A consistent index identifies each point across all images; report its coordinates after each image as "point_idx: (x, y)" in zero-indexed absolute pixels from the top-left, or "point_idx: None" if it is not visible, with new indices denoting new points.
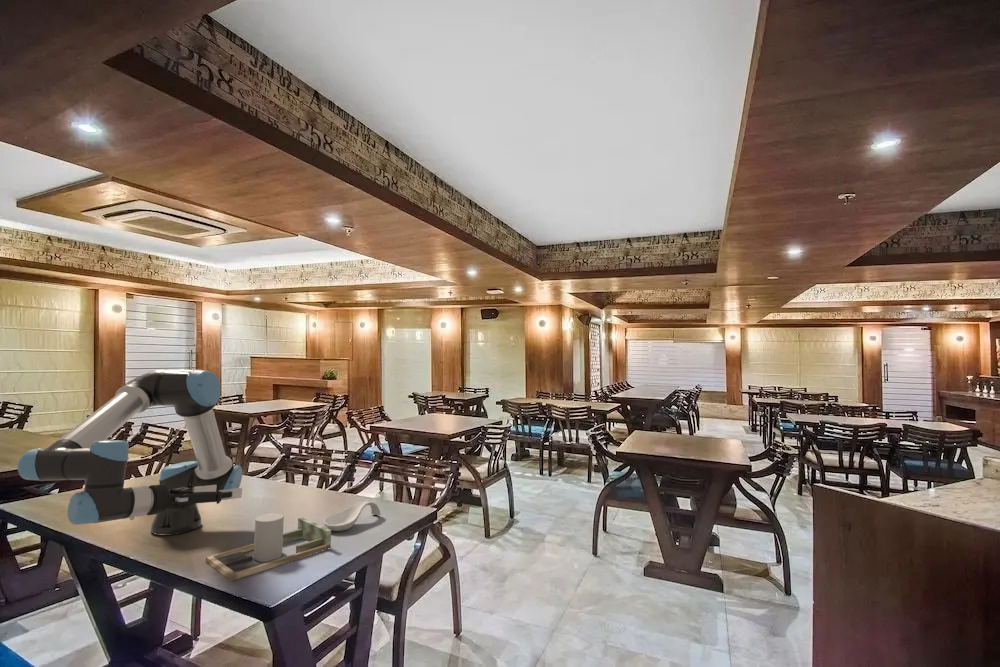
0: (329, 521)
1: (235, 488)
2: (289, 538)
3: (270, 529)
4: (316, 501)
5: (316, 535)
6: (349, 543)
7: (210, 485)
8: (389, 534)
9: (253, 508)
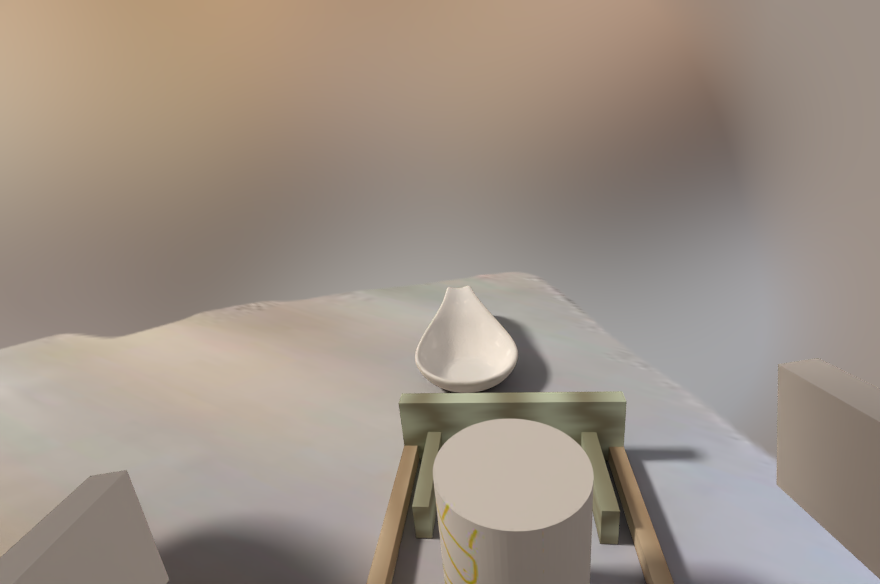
0: (429, 371)
1: (868, 405)
2: None
3: (590, 527)
4: (225, 341)
5: None
6: None
7: (54, 542)
8: (612, 341)
9: (32, 438)
